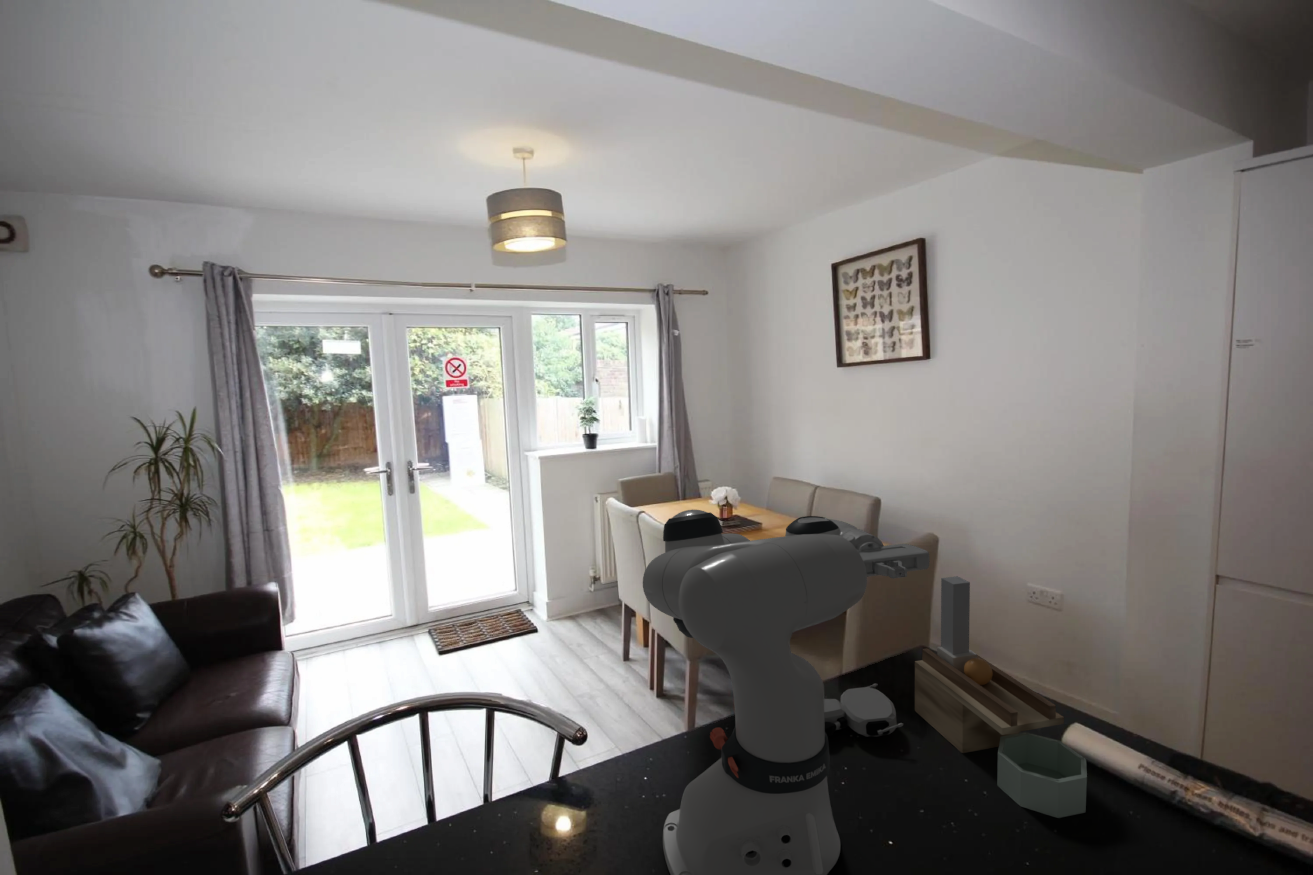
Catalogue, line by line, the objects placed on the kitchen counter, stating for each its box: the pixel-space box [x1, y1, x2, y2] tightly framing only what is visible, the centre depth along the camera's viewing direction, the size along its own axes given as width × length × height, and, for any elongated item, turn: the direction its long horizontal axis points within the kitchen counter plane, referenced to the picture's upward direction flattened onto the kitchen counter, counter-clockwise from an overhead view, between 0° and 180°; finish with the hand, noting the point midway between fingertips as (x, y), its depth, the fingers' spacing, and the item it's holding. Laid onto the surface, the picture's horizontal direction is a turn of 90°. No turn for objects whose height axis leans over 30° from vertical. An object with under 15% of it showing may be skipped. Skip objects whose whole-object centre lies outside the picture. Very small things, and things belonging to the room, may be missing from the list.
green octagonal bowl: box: [996, 731, 1088, 819], centre depth 84 cm, size 10×10×5 cm
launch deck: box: [914, 648, 1065, 754], centre depth 95 cm, size 10×20×11 cm, turn 11°
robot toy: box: [824, 683, 904, 738], centre depth 101 cm, size 12×4×15 cm
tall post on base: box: [936, 575, 978, 673], centre depth 100 cm, size 4×4×15 cm
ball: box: [964, 658, 993, 685], centre depth 95 cm, size 4×4×4 cm
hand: (900, 573), depth 115 cm, fingers closed
